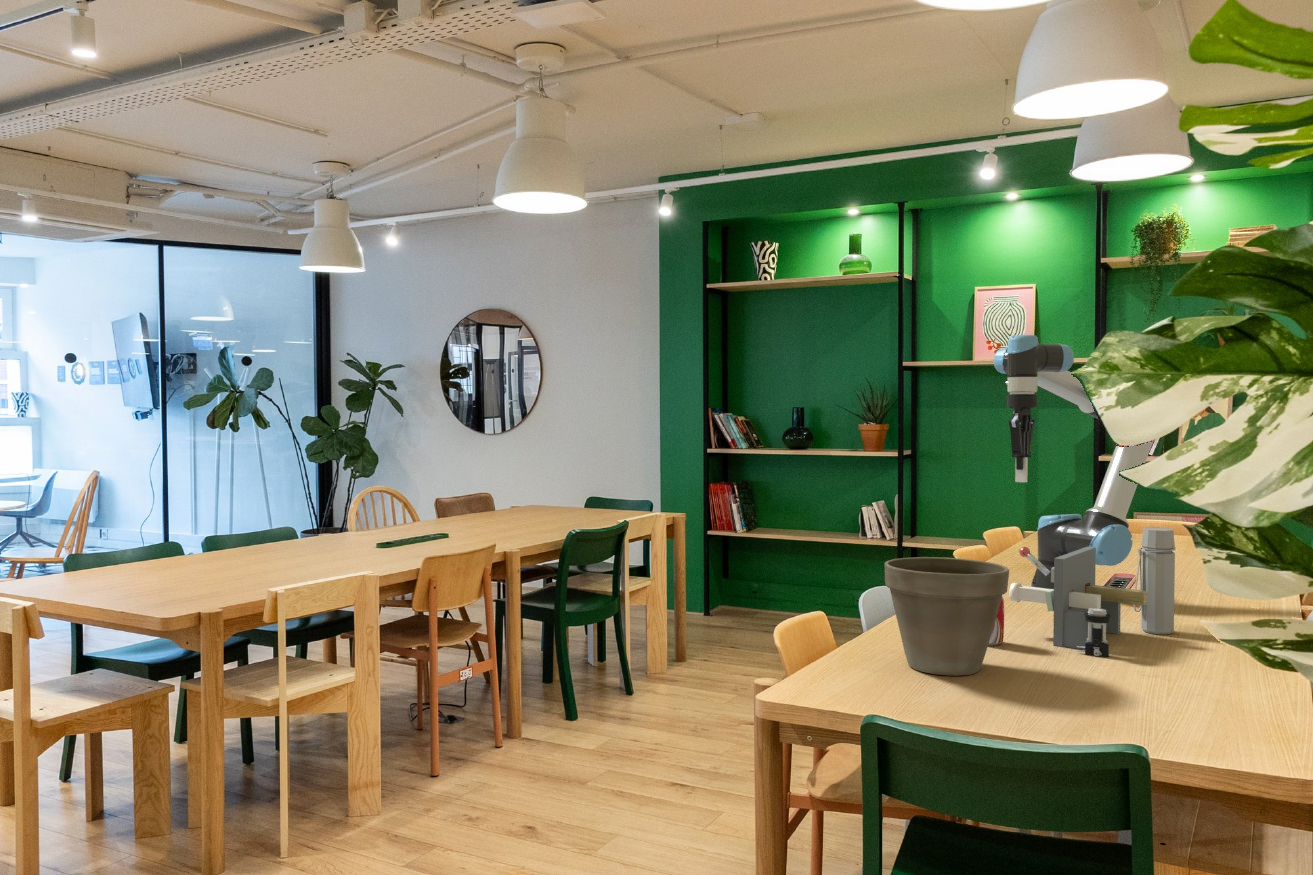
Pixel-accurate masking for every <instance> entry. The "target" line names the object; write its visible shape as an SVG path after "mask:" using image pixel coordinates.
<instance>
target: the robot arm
mask: <svg viewBox="0 0 1313 875" xmlns="http://www.w3.org/2000/svg"><path fill="white" fill-rule="evenodd" d="M1074 354H1075V353H1074V351H1073V349H1072V348H1071V347H1070V346H1069V345H1068V344H1061V343H1039V338H1038V336H1037V335H1033V334H1017V335H1012V336H1009V338H1008V341H1007V347H1002V348H999V349H997V351H996V352H995V353H994V356H993V365H994V368H995V370H996V371H997V372H998V373H1000V374H1004V375H1007V381H1005V384H1006V385H1007V393H1009V394H1007V396H1006V407H1007V409H1013V412H1012V416H1011V419H1009V420H1008V426H1009V431H1010V432H1009V433H1010V444H1011V458H1015V460H1014V461H1015V464H1014V465H1015V466H1014V467H1015V468H1014V469H1015V470H1014V471H1015V472H1014V473H1015V474H1014V475H1015V476H1014V478H1015V479H1014V481H1015V482H1014V483H1028V458H1032V446H1033V436H1034V433H1033V432H1034V427H1035V423H1036V421H1035V419H1034V418H1033V416H1032V412H1031V409H1037V407H1038V395H1037V394H1036V393H1037V392H1038V389H1039V388H1041V389H1044V390H1046V391H1048V392H1050V393H1052V394H1054V395H1055V396H1058V397H1060V398H1062V399H1064V400H1066V401H1069V402H1070V403H1073V404H1074V405H1077V406H1078V408H1079V409H1080V411H1081V412H1082V413H1084V414H1087V415H1089V416H1090V417H1093V418H1095V419H1097V420H1099V419H1098V416H1097V415H1096V412H1095V411H1094V409H1093V406H1092V403H1091V402H1090V400H1089V398H1088V396H1087V395H1086V392H1085V391H1084V388H1083V386H1082V384H1081V383H1080V381H1079V380H1078V379H1077V378H1076V377H1073V375H1071V373H1072V372H1071V371H1069V370H1070V368H1071V367H1072V366H1073V364H1074V361H1075V355H1074ZM1038 387H1039V388H1038ZM1153 442H1154V441H1153ZM1153 442H1149V443H1146V444H1141V445H1138V446H1130V447H1119V446H1116V445H1115V447H1114V448H1115V449H1114V450H1113V453H1112V456H1111V457H1110V458H1111V459H1110V461H1109V464H1108V466H1107V470H1106V472H1105V475H1104V477H1103V480H1102V484H1101V486H1100V489H1099V492H1098V494H1097V496H1096V499H1095V503H1094V505H1093V507H1091V508H1088V509H1086V511H1085V512H1084V515H1083V517H1082V515H1081V514H1080V513H1071V514H1053V515H1052V514H1051V515H1049V514H1048V515H1043V516H1042V515H1041V516H1040V517H1039V518H1038V526H1037V560H1038V561H1039V562H1041V563H1042V564H1043V565H1044V566H1045V567H1046V568H1047V569H1048V570H1049V571H1050V573H1049V574H1048V575H1047V576H1046V575H1044V574H1043V573H1042V572H1041V571H1040V570H1039V569H1038V568H1037V567H1036V569H1035V572H1034V575H1033V578H1032V581H1031V584H1030V587H1037V588H1046V589H1054V582H1051V568H1053V567H1054V558H1056V557H1059V556H1062V555H1065V554H1068V553H1071V552H1074V551H1076V550H1079V549H1082V548H1085V547H1096V564H1095V566H1109V567H1111V566H1117V565H1119V564H1121V563H1122V562H1124V561H1125V560H1126V559H1127V557H1128V556H1129V555H1130V553H1131V551H1132V547H1133V540H1132V538H1133V535H1132V532H1131V530H1130V529H1129V526H1130V524H1129V522H1128V519H1127V514H1128V512H1129V509H1130V506H1131V503H1132V500H1133V498H1134V495H1135V492H1136V489H1137V487H1138V484H1135V483H1134V482H1130V481H1128V480H1126V479H1124V478H1122V477H1121V476H1119V471H1122V470H1125V469H1129V468H1132V467H1135V466H1138V465H1141V464H1142V463H1145V464H1146V462H1147V460H1148V456H1149V454H1150V451H1151V448H1152V446H1153Z"/></svg>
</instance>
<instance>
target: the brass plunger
mask: <svg viewBox="0 0 1313 875" xmlns="http://www.w3.org/2000/svg"><path fill="white" fill-rule="evenodd" d="M1085 593H1089V594H1097V595H1101V601H1108V602H1117V603H1121V604H1127V605H1133V606H1134V605H1135V606H1140V605H1142V606H1144V605H1146V604H1147V591H1143V590H1140V589H1136V590H1135V588H1133V589H1132V588H1125V587H1116V586H1115V587H1114V586H1105V585H1096V584H1095V585H1089V584H1085Z"/></svg>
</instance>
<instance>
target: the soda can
mask: <svg viewBox="0 0 1313 875" xmlns="http://www.w3.org/2000/svg"><path fill="white" fill-rule="evenodd" d="M1004 635H1005V601H1004V597H1003V596H1002V598H1001V602H1000V606H999V610H998V613H997V617H996V620H995V624H994V627H993V630H992V634H991V637H990V640H989V644H988V646H994V647H995V646H998V645H1000V644H1002V643H1003V641H1004Z"/></svg>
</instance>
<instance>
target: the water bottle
mask: <svg viewBox="0 0 1313 875" xmlns="http://www.w3.org/2000/svg"><path fill="white" fill-rule="evenodd" d="M1174 532H1175V531H1174V529H1173V528H1168V527H1158V526H1157V527H1156V526H1155V527H1153V526H1150V527H1143V528H1142V537H1141V545H1140V546H1141V548H1137V553H1138V556H1139V557H1138V560H1137V561H1138V563H1137V568H1136V569H1137V570H1136V577H1135V585H1134V590H1138V588H1137V587H1138V580H1139V590H1143V591H1147V604H1146V605H1144V606H1142V605H1139V608H1138V609H1137V608H1136V605H1133V611H1134V612H1136V613H1139V612H1141V613H1140V628H1141V630H1142V631H1144V632H1145V633H1148V634H1152V635H1159V636H1160V635H1161V636H1165V635H1170V634H1173V632H1174V631H1175V584H1176V583H1175V582H1176V581H1175V579H1176V577H1175V574H1176V573H1175V572H1176V566H1175V564H1176V553H1175V551H1176V546H1175V545H1176V544H1175V534H1174ZM1138 578H1139V579H1138Z"/></svg>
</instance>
